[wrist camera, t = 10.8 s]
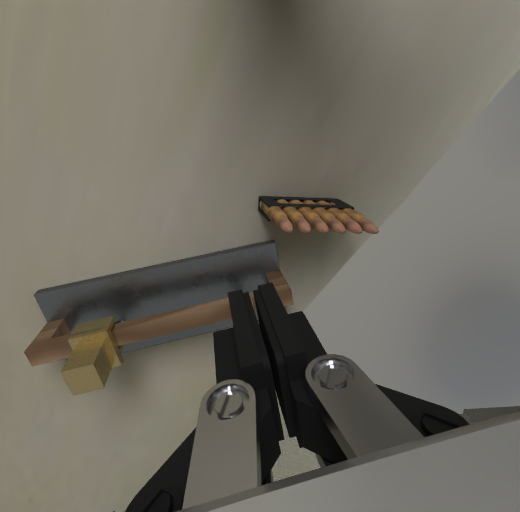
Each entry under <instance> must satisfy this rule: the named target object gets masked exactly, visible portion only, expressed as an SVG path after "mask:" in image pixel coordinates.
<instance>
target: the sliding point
mask: <svg viewBox="0 0 520 512" xmlns="http://www.w3.org/2000/svg"><path fill="white" fill-rule="evenodd" d="M114 322H115V318H114V316H110V317H106V318H102V319H97V320H93V321H88V322H84V323H80V324H77V326H76V327H75V329H74V331H73V332H72V334H71V335H70V337H69V339H68V342H69V344H70V346H71V348H72V350H73V351H72V353H71V355H70V357H69V358H68V360H67V362H66V364H65V365H64V367H63V369H62V371H61V374H62V376H63V378H64V379H65V381H66V383H67V385H68V387H69V389H70V391H71V393H72V394H73V395H77V394H81V393H85V392H89V391H93V390H97V389H101V388H104V387H105V384H106V382H107V379H108V376H109V374H110V371H111V368H115V367H119V366H122V363H123V358H122V355H121V354H122V351H123V348H124V345H125V344H124V345H120V346H117V343H116V341H115V338H114V336H113V334H112V331H111V329H112V327H113V324H114Z"/></svg>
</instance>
